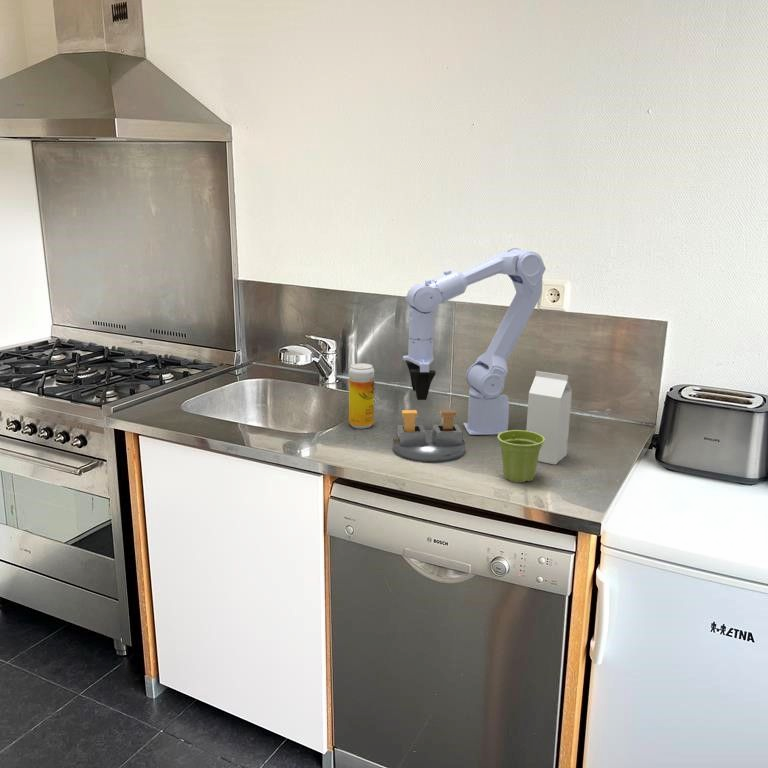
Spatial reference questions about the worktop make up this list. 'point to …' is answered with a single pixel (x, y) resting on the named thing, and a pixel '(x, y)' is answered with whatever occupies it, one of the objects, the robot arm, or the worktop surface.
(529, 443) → the plant pot
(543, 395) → the milk carton
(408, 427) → the wedge pin
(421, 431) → the two socket peg base
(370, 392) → the beer can
